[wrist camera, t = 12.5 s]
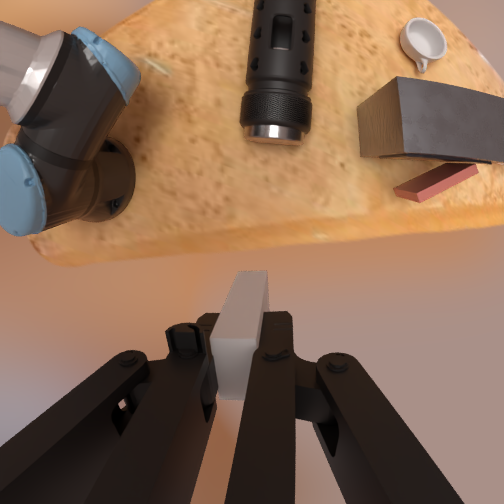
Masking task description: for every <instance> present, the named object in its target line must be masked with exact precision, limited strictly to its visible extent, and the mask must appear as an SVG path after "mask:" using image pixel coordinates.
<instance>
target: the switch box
mask: <svg viewBox="0 0 504 504" xmlns="http://www.w3.org/2000/svg"><path fill="white" fill-rule="evenodd" d="M357 115H358V127H359V140H360V157H379V158H386V159H409V160H426V161H440V162H452V163H476V164H492V163H504V98H501V97H497V96H494V95H490V94H487V93H483V92H479V91H475V90H471V89H467V88H463V87H458V86H453V85H449V84H443V83H438V82H433V81H427V80H420V79H414V78H406V77H398V76H396V77H395V78H394V79H392V80H391V81H390V82H388V83H387V84H386V85H385V86H383V87H382V88H381V89H379V90H378V91H377V92H376V93H374V94H373V95H372V96H371V97H369V98H368V99H367V100H365V101H364V102H363V103H362V104H360V105H359V106H358V107H357Z"/></svg>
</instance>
